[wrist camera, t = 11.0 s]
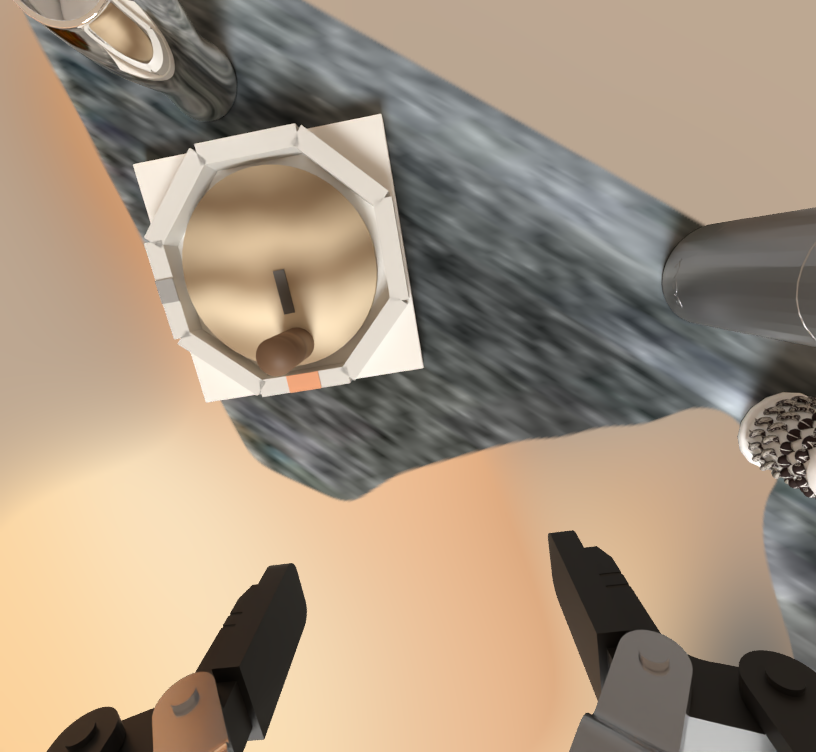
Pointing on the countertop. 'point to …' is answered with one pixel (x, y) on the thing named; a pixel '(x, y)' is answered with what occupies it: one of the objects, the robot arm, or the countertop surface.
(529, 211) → the countertop surface
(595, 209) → the countertop surface
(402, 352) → the dial housing
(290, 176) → the dial
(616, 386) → the countertop surface
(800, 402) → the decorative candle
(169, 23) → the beer glass
